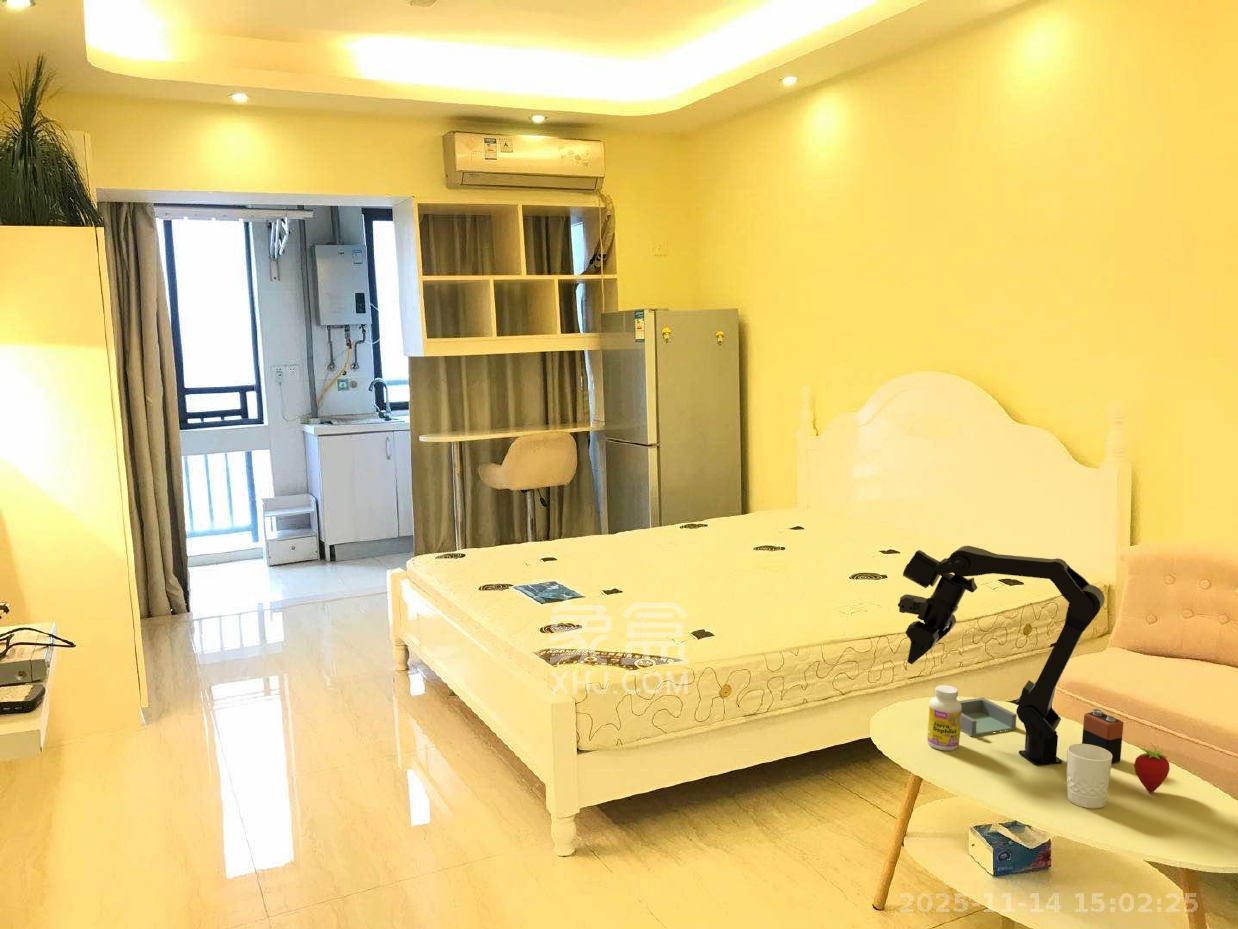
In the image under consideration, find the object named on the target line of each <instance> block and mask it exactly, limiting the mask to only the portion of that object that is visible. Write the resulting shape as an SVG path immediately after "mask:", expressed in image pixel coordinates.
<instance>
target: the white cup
mask: <svg viewBox="0 0 1238 929" xmlns="http://www.w3.org/2000/svg"><path fill="white" fill-rule="evenodd" d="M1066 752H1067V753H1066V754H1067V755H1066V756H1067V757H1066V759H1067V760H1066V785H1067V788H1066V789H1067V792H1066V798H1067V800H1068V801H1069V802H1070V803H1072V804H1073V805H1076V806H1078V807H1082V808H1085V809H1094V810H1095V809H1101V808H1103V807H1105V806H1106V801H1107V800H1106V798H1107V792H1108V790H1109V783H1110V777H1111V770H1112V764H1111V763H1112V754H1111V753H1110V752H1109V751H1108V750H1106V749H1104V748H1101V747H1098V746H1094V745H1089V744H1082V743H1074V744H1073V743H1072V744H1070V745H1069V746H1067V751H1066Z"/></svg>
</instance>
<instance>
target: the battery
mask: <svg viewBox="0 0 1238 929" xmlns="http://www.w3.org/2000/svg"><path fill="white" fill-rule="evenodd" d="M1091 711H1092V712H1091ZM1091 711H1090V712H1086V713H1084V715H1083V725H1082V726H1083V727H1082V737H1081V739H1082V740H1081V744H1089V745H1094V746H1098V747H1101V748H1104V749H1106V750H1108V751H1109V752H1110V753H1111V754H1112V763H1111V765H1113V764H1116V763H1117V764H1118V763H1119V762H1121V757H1122V756H1121V755H1122V744H1123V734H1124V722H1123V721H1122V720H1121V719H1118V718H1116V717H1115V716H1114V715H1108V714H1106V713H1104V711H1103V710H1102V709H1099V708H1094V709H1091Z"/></svg>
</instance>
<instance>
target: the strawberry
mask: <svg viewBox="0 0 1238 929" xmlns="http://www.w3.org/2000/svg"><path fill="white" fill-rule="evenodd" d="M1150 745H1152V747H1154V751H1152V750H1151V749H1146V748H1143V747H1140V750H1142V751H1143V752H1145V753H1142V754H1139V755H1138V756H1137V757H1136V758H1135V759H1134V763H1133V766H1134V771H1135V774H1136V776H1137V778H1138V780H1139V782H1140V783H1141V784H1142V786H1143V787H1144V788H1145V790H1146V791H1147V792H1148V793H1150V794H1152V793H1154V792H1155V791H1156V790H1157V789H1158V788H1159V787H1161V785H1162V784H1163V783H1164V781H1165V780H1166V779H1167V777H1168V775H1169V772H1170V770H1171V769H1170V762H1169V761H1168V759H1167V758H1168V756H1166V755H1164V754H1162V753H1163V752H1164V751H1162V750H1161V751H1160V750H1157V748H1156V747H1155V745H1153V743H1152V742H1150Z"/></svg>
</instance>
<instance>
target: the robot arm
mask: <svg viewBox="0 0 1238 929" xmlns="http://www.w3.org/2000/svg"><path fill="white" fill-rule="evenodd" d="M991 574H993V575H1005V576H1006V575H1007V576H1017V577H1024V578H1025V577H1026V578H1035V579H1047V580H1050V582H1052V584H1054V586H1055V587H1056V589H1057V590H1058V591H1059V593H1060V594H1061V596H1062V597H1063V598H1064V599H1065V601H1067V602H1068V607H1067V609H1066V610H1067V611H1066V613H1065V620H1064V624H1063V628H1062V630H1061V632H1060V634H1059V635H1058V638H1056V639H1057V640H1056V642H1055V644H1054V646H1053V647H1052V650H1051V652H1050V654H1049V656H1048V658H1047V660H1046V662H1045V664H1044V666H1043V668H1042V670H1041V672H1040V674H1039V676H1038V679H1037V680H1036V681H1035V682H1033V681H1031V680H1027V682H1026V683H1025V685H1024V686H1023V688H1022V691H1021V693H1020V695H1019V698H1018V699H1017V700H1016V701H1015V704H1014V705H1015V706H1017V707H1016V713H1015V714H1017V718H1018V719H1019V721H1020V722H1021V723H1022V724H1023V726H1024V729H1025V742H1024V750H1022V749H1021V750H1018V754H1019V755H1020V756H1022V757H1023V758H1025V759H1026V760H1028V761H1029V762H1030V763H1032V764H1033V765H1035V766H1043V765H1044V766H1045V765H1055V764H1056V765H1057V764H1063V762H1064V761H1063V759H1061V758H1059V756H1057V754H1058V752H1057V751H1058V742H1059V741H1058V740H1059V735H1058V731H1056V729H1057V728H1058V726H1059V725H1060V722H1061V721H1062V718H1061V717H1060V715H1059V714H1058V713H1057V712H1056V711H1055V709H1054V708H1053V707H1052V706H1053V702H1054V698H1055V692H1056V687H1057V685H1058V682H1059V681H1060V678H1061V677H1062V675H1063V673H1064V670H1065V669H1066V667H1067V665H1068V662H1069V660H1070V659H1071V657H1072V654H1073V652H1074V651H1075V649H1076V646H1077V645H1078V642H1079V640H1080V638H1081V636H1082V635H1083V633H1084V631H1085V630H1086V629H1087V628H1088V627H1089V625H1091V622H1093V620H1094V619H1095V618H1096V617H1097V615H1098V614H1099V612H1100V610H1102V607H1103V606H1104V604H1105V601H1106V597H1105V595H1104V592H1103V591H1102V590H1101V589H1100V588H1099V587H1097V586H1095V585H1093V584H1090V582H1088V581H1087V580H1086V579H1085V577H1083V576H1082V575H1080V574H1079V573H1078V572H1077V571H1076V570H1074V569H1073V568H1072V567H1071V566H1070V565H1069V564H1068V563H1067V562H1066V561H1065V560H1064V559H1062V558H1045V557H1043V558H1042V557H1035V556H1031V557H1030V556H1022V555H1010V554H1001V553H1000V554H998V553H995V552H991V551H989V550H987V549H984V548H980V547H976V546H973V545H964V546H961V547H959V548H958V549H956V550H954V551H953V552H952V553H951V554H950V555H949V557H948V558H947V557H945V558H943V559H941V560H940V561H939V560H937V559H936V558H933V557H932V556H930V555H928V554H927V553H925V552H924V551H922V550H921V549H918V550H916V551H915V553H914V555H913V556H912V557H911V558H910V560H909V562H908V563H906V565H905V568H904V570H903V572H902V576H903V577H904V578H906V579H907V580H910V581H911V582H913V583H915V584H917V585H919V586H921V587H922V588H924V589H927V588H929V587H934V586H935V585H936V583H937V581H938V583H937V585H936V586H935V589H934V591H933V592H932V594H931V596H930V597H927V598H926V597H924V596H918V595H913V594H903V595H902V596H901V597H900V598H899V602H898V604H897V607H899V608H898V611H899V613H902V614H905V613H906V614H911V615H918V616H917V617H916V618H917V619H918V620H916V621H913V622H912V623H910V624H909V625H908V627H907V628H906V630H905V634H906V636H907V638H909V640H910V646H909V651H908V652H909V653H908V657H907V663H908V664H910V665H913V664H914V663H915V662H916V661H918V660H919V659H920V658H922V657H923V656H924V655H925V654H926V653H927V652H928V651H930V650H931V649H932V648H934V646H935V645H936V643H938V642H939V641H940V640H941V639H943V638H944V637H945V636H947V634H949V633H950V632H951V630H952V629H953V628H954V627H955V625H956V622H957V619H956V616H955V614H954V613H955V612H957V611H958V609H959V604H960V602H961V601H962V598H963V596H964V594H965V592H966V591H967V592H970V593H974V592H975V591H977V590H978V585H977V583H976V582H975V577H978V576H984V575H991ZM967 577H971V578H967ZM939 578H940V579H939ZM922 621H923V622H922Z"/></svg>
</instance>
